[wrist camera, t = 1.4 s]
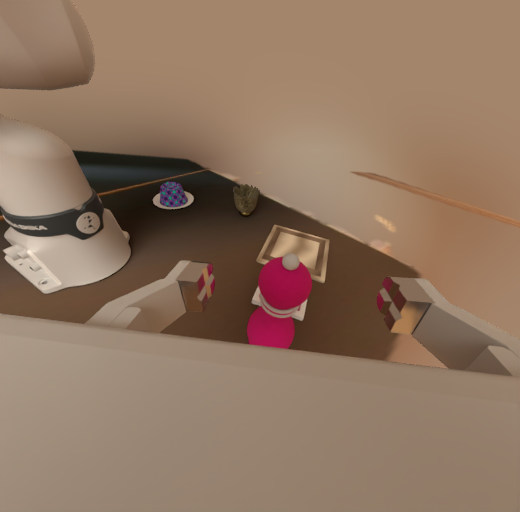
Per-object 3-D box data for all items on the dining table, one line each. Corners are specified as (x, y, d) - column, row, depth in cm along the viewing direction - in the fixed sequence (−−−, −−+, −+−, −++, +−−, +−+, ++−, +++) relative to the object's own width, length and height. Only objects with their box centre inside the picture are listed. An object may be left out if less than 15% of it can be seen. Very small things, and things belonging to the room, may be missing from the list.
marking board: (256, 261, 47) (256, 259, 46) (274, 226, 58) (274, 224, 58) (323, 283, 44) (324, 280, 44) (328, 241, 55) (329, 239, 55)
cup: (248, 206, 65) (250, 182, 60) (261, 217, 61) (265, 192, 56) (228, 211, 61) (228, 186, 56) (241, 223, 57) (242, 198, 52)
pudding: (144, 202, 61) (139, 185, 57) (174, 189, 69) (171, 173, 65) (173, 215, 57) (169, 199, 54) (201, 200, 65) (200, 184, 62)
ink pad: (251, 303, 38) (252, 297, 37) (266, 268, 46) (267, 262, 44) (302, 321, 37) (304, 316, 36) (309, 282, 44) (312, 276, 43)
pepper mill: (239, 329, 34) (245, 239, 21) (276, 316, 37) (303, 228, 23) (255, 372, 30) (277, 293, 16) (296, 354, 32) (344, 273, 19)
